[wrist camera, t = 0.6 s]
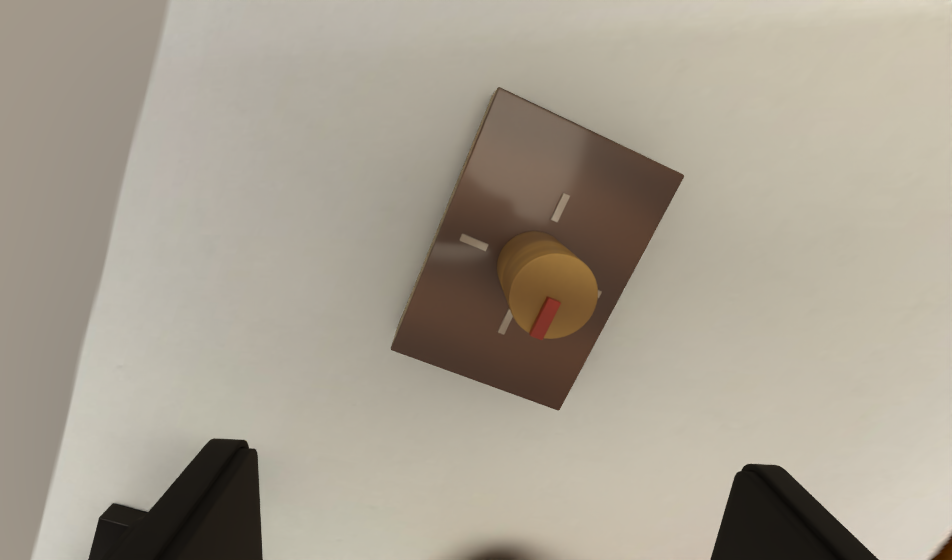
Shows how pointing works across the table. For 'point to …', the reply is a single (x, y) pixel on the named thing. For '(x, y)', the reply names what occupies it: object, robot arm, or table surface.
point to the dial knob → (546, 285)
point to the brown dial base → (523, 210)
